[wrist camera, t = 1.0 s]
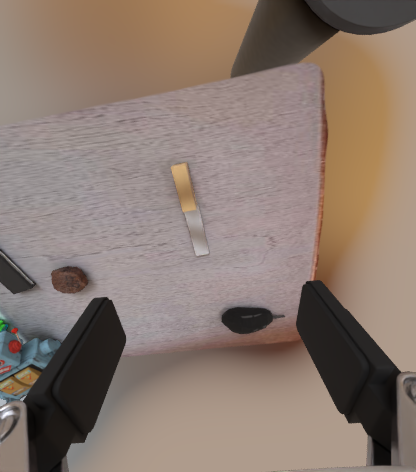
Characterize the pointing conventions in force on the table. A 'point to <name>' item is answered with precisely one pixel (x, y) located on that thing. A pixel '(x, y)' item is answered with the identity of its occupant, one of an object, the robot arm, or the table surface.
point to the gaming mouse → (247, 319)
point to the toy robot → (22, 363)
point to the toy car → (3, 326)
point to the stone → (68, 279)
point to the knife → (190, 207)
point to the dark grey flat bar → (13, 276)
